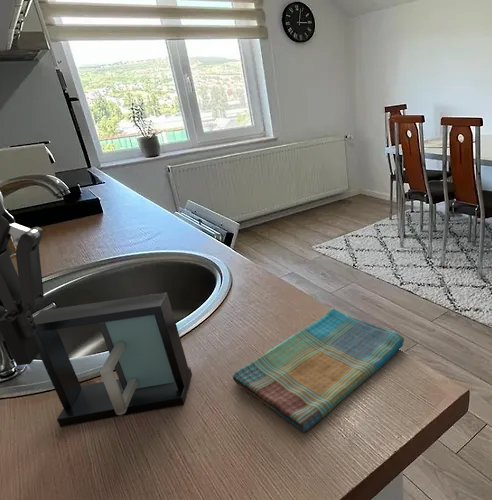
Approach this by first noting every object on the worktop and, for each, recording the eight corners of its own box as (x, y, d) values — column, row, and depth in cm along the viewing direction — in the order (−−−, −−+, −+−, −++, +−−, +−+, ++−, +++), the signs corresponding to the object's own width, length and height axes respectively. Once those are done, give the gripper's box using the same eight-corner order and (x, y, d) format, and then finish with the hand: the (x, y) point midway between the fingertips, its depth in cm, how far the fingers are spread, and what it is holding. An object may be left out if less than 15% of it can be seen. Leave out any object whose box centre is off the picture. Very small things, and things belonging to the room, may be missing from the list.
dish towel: (408, 347, 70) (407, 334, 69) (306, 437, 54) (304, 422, 53) (333, 315, 80) (332, 304, 79) (231, 383, 65) (228, 370, 64)
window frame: (60, 427, 59) (17, 334, 53) (80, 393, 65) (44, 307, 59) (184, 405, 61) (156, 313, 55) (192, 374, 67) (168, 289, 61)
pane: (107, 425, 56) (78, 352, 51) (125, 387, 63) (100, 320, 58) (164, 414, 57) (141, 342, 52) (176, 378, 64) (155, 311, 59)
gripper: (-162, 190, 39) (-49, 387, 48) (-8, 176, 40) (72, 368, 50) (-98, 172, 45) (-10, 348, 55) (32, 161, 47) (95, 333, 57)
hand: (29, 357), depth 52 cm, fingers closed
